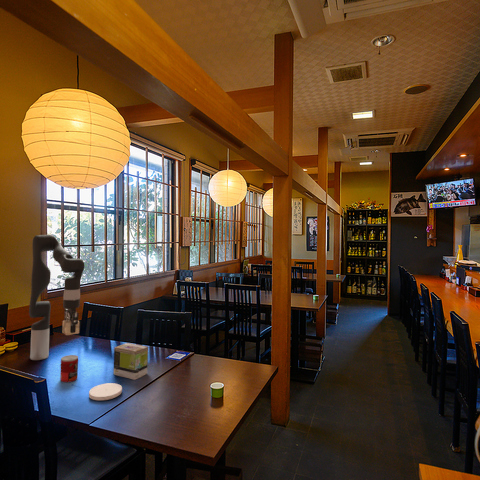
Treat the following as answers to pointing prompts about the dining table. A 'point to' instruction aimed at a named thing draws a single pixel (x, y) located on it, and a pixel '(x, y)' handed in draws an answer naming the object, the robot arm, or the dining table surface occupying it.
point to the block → (67, 328)
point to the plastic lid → (105, 391)
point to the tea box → (130, 360)
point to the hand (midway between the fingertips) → (70, 331)
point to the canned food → (69, 368)
